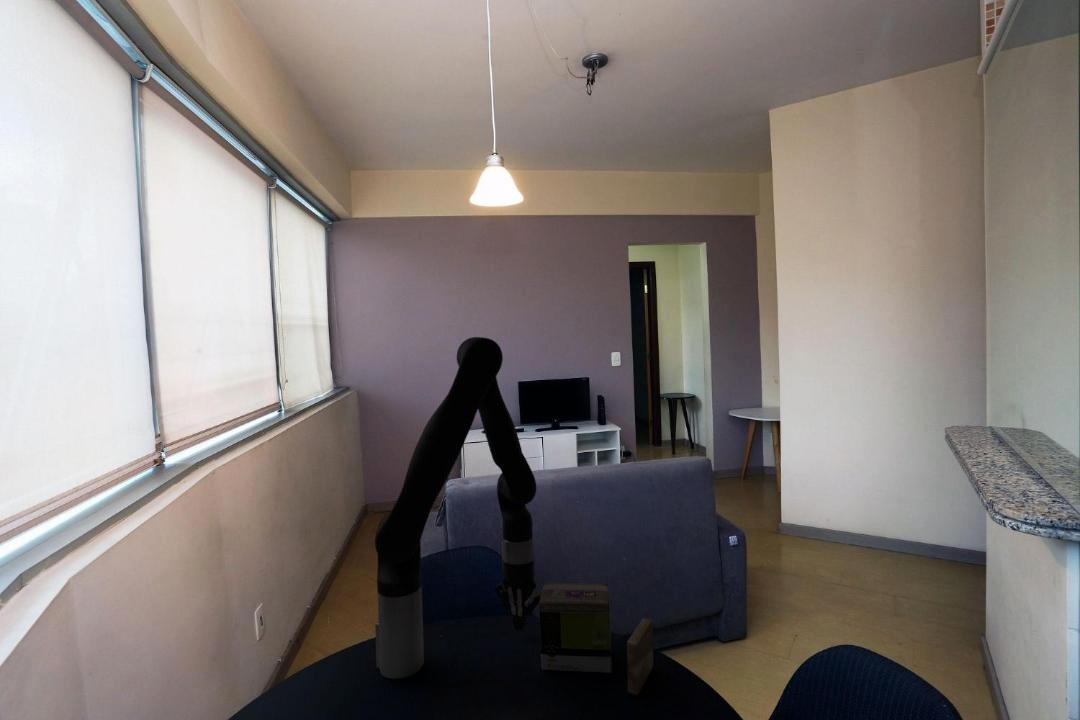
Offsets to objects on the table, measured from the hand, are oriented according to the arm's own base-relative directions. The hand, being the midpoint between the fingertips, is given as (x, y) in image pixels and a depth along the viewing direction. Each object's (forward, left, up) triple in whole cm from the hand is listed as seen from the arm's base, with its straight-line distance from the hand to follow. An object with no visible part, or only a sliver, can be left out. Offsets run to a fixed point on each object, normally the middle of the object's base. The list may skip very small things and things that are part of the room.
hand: (519, 629), depth 117 cm
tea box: (+15, 0, -3) cm, 15 cm away
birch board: (+29, 0, -2) cm, 30 cm away
